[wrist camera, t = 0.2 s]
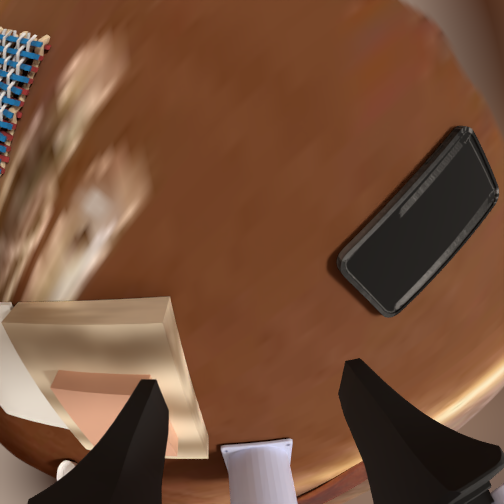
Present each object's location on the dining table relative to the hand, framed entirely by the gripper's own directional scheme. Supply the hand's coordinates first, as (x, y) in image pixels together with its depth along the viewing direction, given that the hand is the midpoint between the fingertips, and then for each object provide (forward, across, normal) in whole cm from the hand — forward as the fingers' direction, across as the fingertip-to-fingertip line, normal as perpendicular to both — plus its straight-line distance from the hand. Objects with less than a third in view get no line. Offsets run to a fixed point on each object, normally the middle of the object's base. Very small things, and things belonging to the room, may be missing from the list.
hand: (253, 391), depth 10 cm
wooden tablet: (+11, -13, +46) cm, 50 cm away
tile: (+7, +11, +10) cm, 17 cm away
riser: (+10, +12, +10) cm, 19 cm away
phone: (+10, -14, -3) cm, 18 cm away
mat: (+10, +27, +10) cm, 30 cm away
